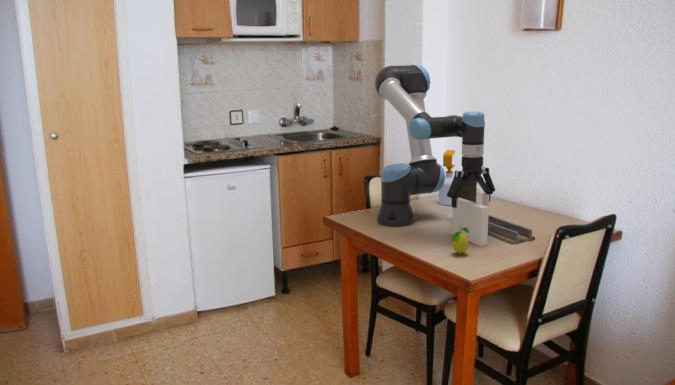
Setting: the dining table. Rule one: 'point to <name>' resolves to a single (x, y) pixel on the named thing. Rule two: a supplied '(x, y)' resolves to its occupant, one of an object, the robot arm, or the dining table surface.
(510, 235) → the track plinth
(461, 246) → the lemon
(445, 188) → the soap bottle
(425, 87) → the robot arm
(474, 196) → the container
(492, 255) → the dining table surface
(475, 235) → the door panel
